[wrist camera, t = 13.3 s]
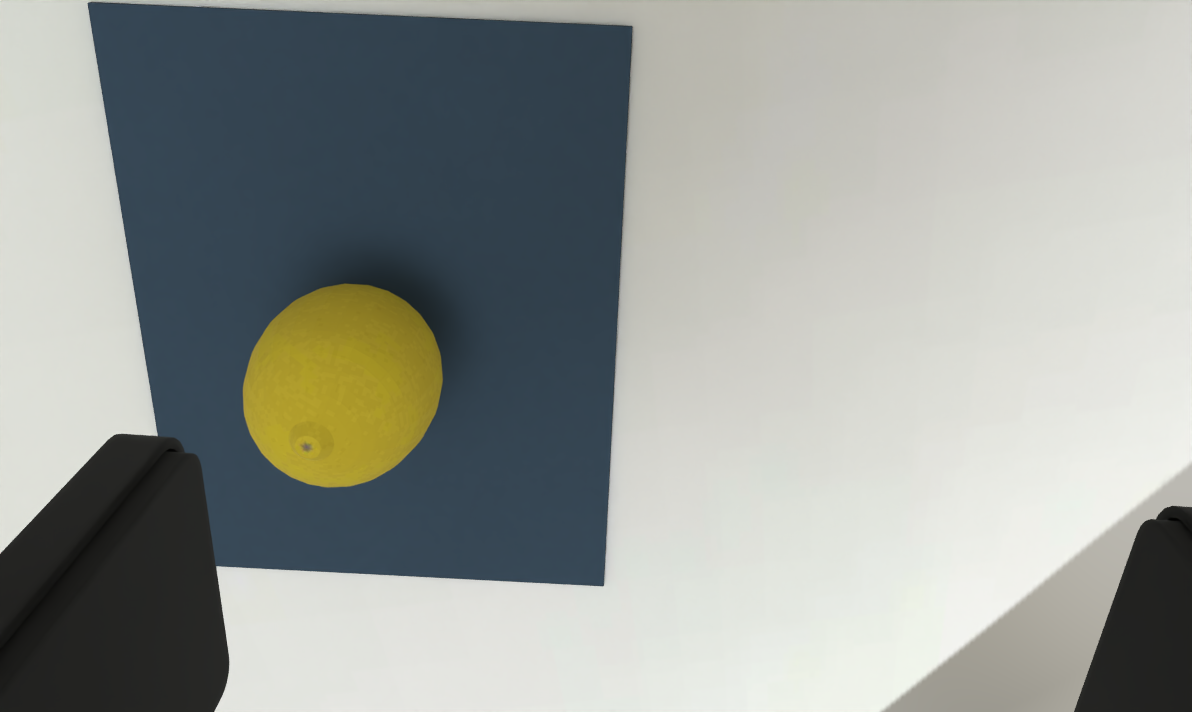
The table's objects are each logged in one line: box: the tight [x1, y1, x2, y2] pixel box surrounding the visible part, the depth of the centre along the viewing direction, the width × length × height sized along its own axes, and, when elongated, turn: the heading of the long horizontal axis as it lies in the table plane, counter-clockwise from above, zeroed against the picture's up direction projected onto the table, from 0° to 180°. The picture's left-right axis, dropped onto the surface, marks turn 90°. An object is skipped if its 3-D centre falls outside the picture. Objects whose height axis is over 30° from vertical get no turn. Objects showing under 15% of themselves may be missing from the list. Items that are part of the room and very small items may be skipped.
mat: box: [88, 2, 632, 586], centre depth 33 cm, size 20×16×1 cm
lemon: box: [243, 284, 443, 487], centre depth 30 cm, size 6×6×8 cm
